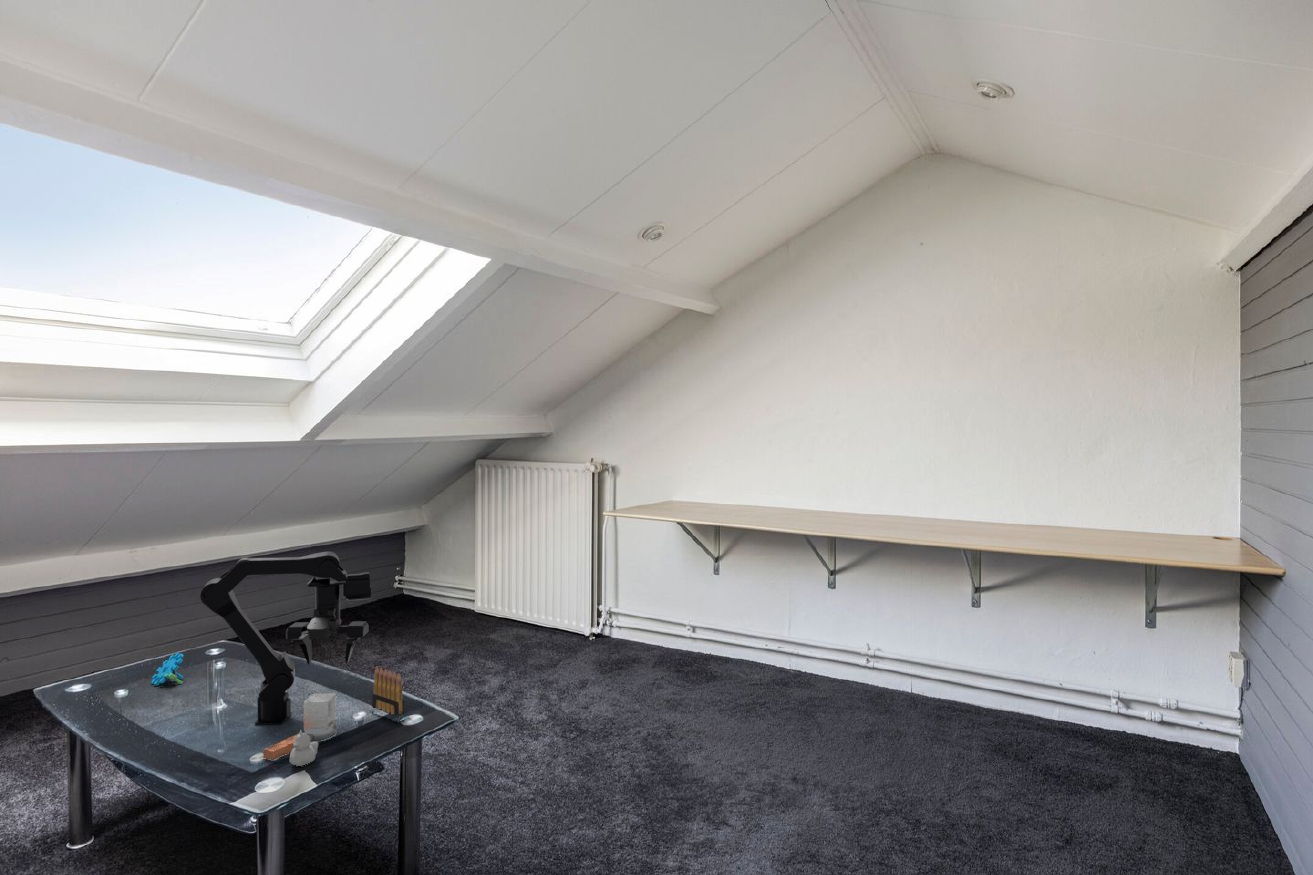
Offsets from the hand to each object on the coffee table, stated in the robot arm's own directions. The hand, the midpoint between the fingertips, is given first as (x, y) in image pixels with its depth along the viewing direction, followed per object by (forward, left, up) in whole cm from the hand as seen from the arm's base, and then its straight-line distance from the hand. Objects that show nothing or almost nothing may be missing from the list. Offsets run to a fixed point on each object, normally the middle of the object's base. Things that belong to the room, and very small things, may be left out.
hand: (328, 663), depth 197 cm
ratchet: (0, -20, -12) cm, 23 cm away
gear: (-52, +25, -13) cm, 59 cm away
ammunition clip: (+16, -4, -13) cm, 21 cm away
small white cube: (+3, -15, -10) cm, 18 cm away
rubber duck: (+5, -29, -13) cm, 32 cm away
